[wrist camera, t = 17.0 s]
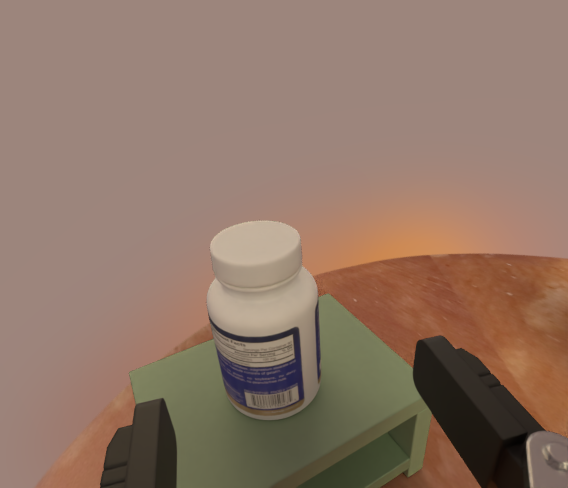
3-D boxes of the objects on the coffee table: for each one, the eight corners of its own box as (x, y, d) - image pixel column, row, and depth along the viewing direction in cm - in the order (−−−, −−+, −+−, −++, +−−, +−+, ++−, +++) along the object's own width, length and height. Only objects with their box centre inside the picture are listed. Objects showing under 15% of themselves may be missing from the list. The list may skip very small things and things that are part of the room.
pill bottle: (262, 335, 24) (246, 206, 20) (337, 367, 21) (337, 226, 17) (204, 395, 20) (168, 252, 16) (286, 443, 18) (269, 287, 13)
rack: (329, 362, 31) (328, 292, 28) (422, 468, 23) (437, 388, 20) (156, 445, 26) (128, 371, 22) (200, 620, 18) (167, 547, 14)
